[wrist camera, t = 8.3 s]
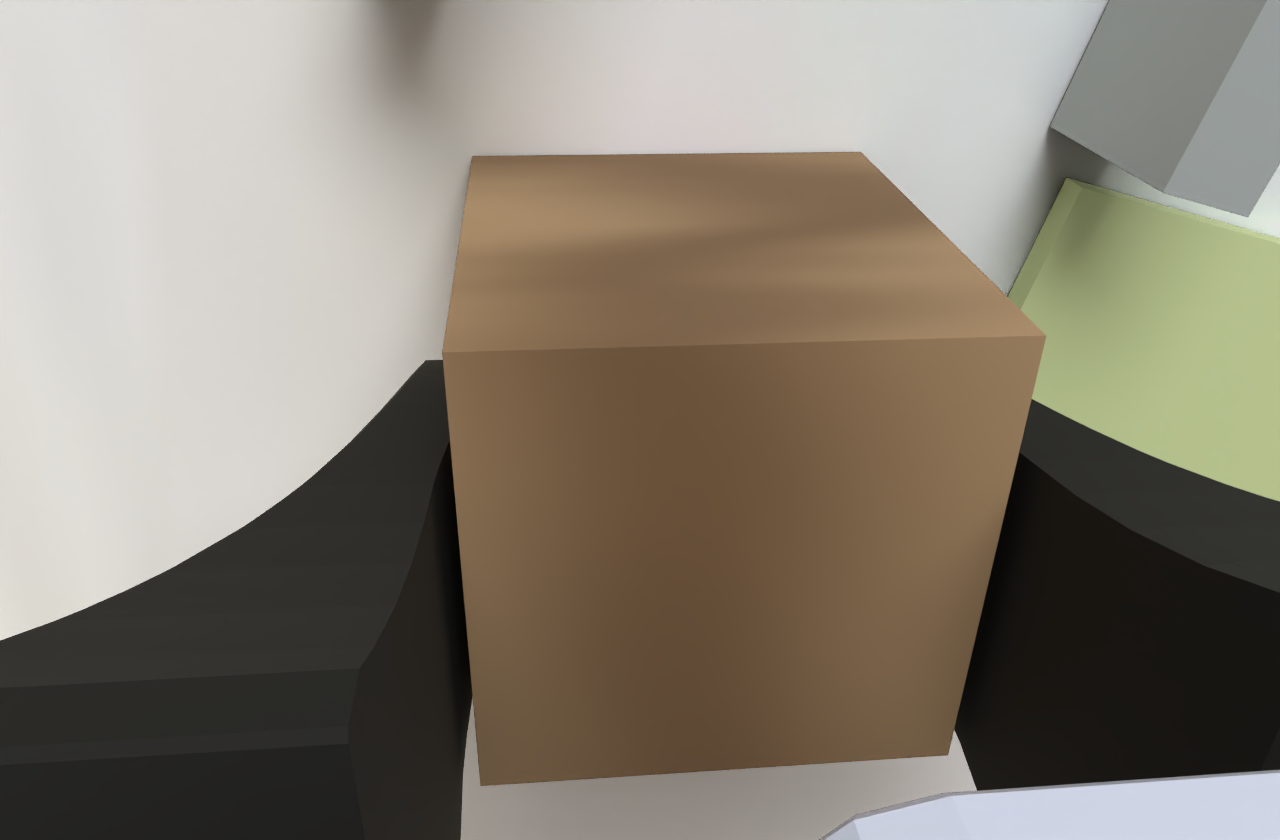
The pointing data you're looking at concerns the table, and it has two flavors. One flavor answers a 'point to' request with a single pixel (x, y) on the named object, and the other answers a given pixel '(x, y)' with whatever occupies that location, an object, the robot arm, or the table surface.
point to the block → (721, 462)
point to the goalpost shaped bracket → (1183, 97)
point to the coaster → (1160, 332)
